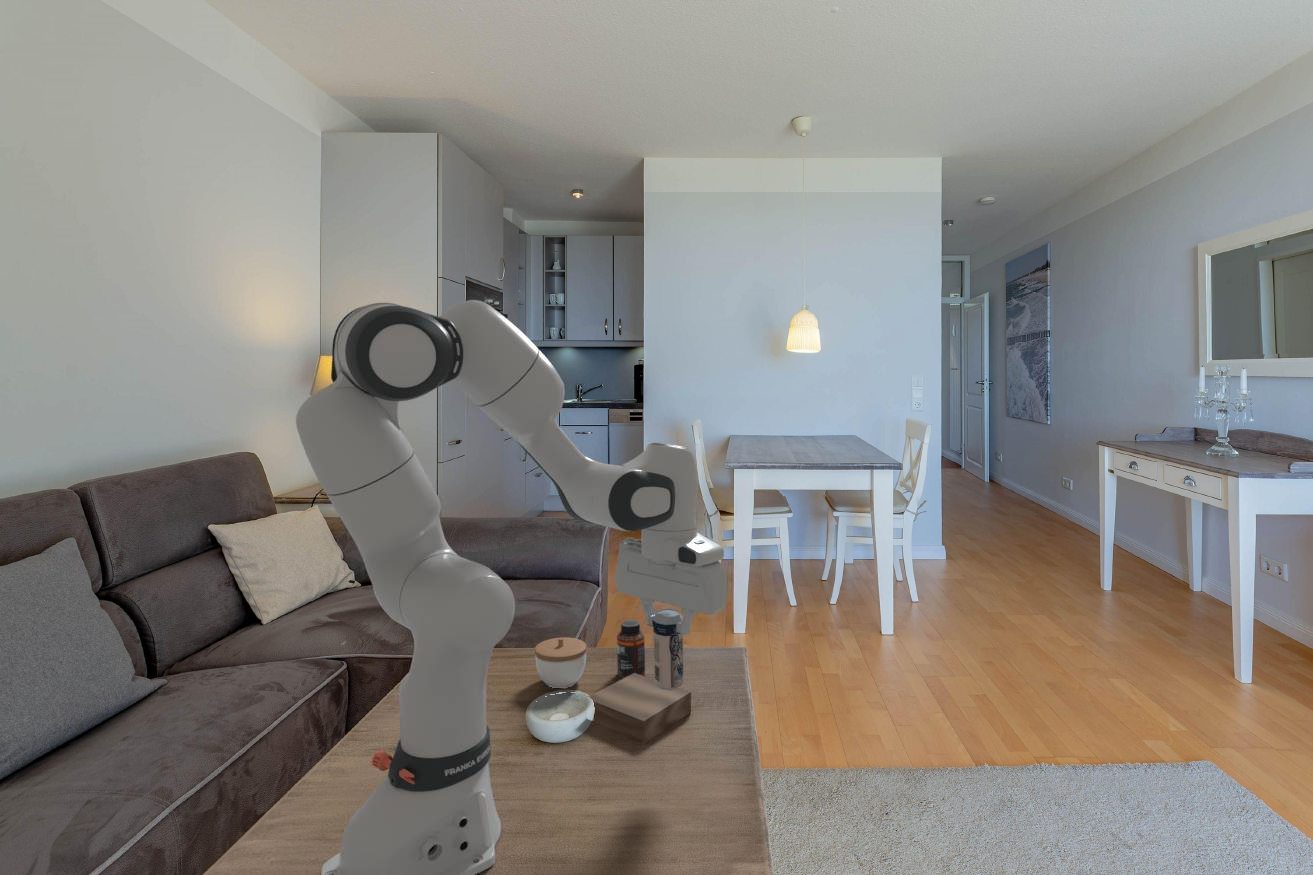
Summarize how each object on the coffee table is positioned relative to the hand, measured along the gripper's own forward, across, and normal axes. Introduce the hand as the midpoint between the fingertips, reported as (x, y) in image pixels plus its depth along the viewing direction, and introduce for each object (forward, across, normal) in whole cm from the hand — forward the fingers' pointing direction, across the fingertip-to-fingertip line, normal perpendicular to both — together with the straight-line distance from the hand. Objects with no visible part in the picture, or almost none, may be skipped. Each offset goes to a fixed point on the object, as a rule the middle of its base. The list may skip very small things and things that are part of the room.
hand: (667, 629), depth 105 cm
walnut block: (+22, -14, +10) cm, 28 cm away
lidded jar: (+22, -36, +11) cm, 44 cm away
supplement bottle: (+22, -27, +23) cm, 42 cm away
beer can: (+10, 0, +1) cm, 10 cm away
